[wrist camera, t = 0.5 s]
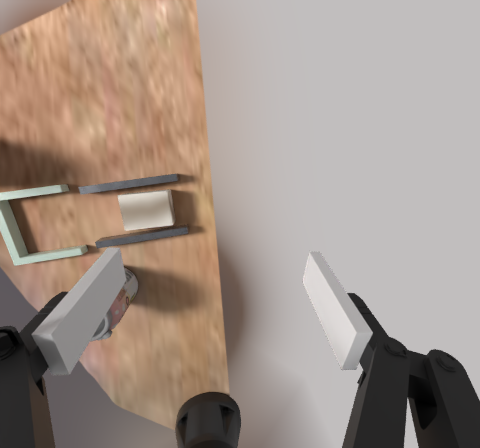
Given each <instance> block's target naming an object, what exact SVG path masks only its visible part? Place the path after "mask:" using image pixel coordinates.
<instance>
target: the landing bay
mask: <svg viewBox="0 0 480 448" xmlns="http://www.w3.org/2000/svg"><path fill="white" fill-rule="evenodd" d="M66 191H69V189H68V186H67V184H63V185H54V186H47V187H40V188H32V189H25V190H17V191H10V192H3V193H0V231H1V233H2V236H3V238H4V240H5V243H6V245H7V248H8V250H9V253H10V255H11V258H12V260H13V263H14V265H22V264H28V263H34V262H40V261H46V260H52V259H58V258H64V257H70V256H76V255H82V254H84V253H85V252H87V251H88V249H87V246H86V245H81V246H75V247H69V248H63V249H56V250H50V251H44V252H38V253H32V254H28V251H27V249H26V246H25V243H24V241H23V238H22V236H21V233H20V230H19V228H18V225H17V223H16V220H15V217H14V215H13V212H12V210H11V207H10V204H9V202H8V199H15V198H23V197H30V196H37V195H44V194H51V193H59V192H66Z"/></svg>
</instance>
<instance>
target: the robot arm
mask: <svg viewBox="0 0 480 448" xmlns="http://www.w3.org/2000/svg"><path fill="white" fill-rule="evenodd" d="M125 282H126V275H125V270H124V266H123V261H122V256H121V251H120V248H107V249H106V250H105V252H104V253H103V254H102V255H101V256H100V257H99V258H98V260H97V261H96V262H95V263H94V264H93V265H92V266H91V267H90V269H89V270H88V271H87V272H86V273H85V274H84V275H83V277H82V278H81V279H80V280H79V281H78V282H77V283H76V285H75V286H74V287H73V288H72V289H71V290H70V291H69V292H61V293H59V294H58V295H56V296H55V297H53V298H52V299H51V300H50V301H49V302H48V303H47V304H46V305H45V306H44V308H42V309H41V311H40V312H39V313H38V315H36V316H35V317H34V318H33V319H32V320H31V321H30V322H29V323H28V324H27V325H26V326H25V328H24V329H23V330H22V331H21V332H20V333H18V331H17V330H16V328H15V327H12V326H4V327H0V448H55V442H54V436H53V431H52V424H51V418H50V412H49V406H48V399H47V393H46V387H45V381H44V378H43V377H42V375H43V374H44V372H45V371H46V370H47V368H49V370H50V372H51V373H52V375H69V374H70V373H71V371H72V370H73V368H74V366H75V364H76V363H77V361H78V360H79V358H80V356H81V355H82V353H83V352H84V350H85V348H86V347H87V345H88V343H89V342H90V340H91V338H92V337H93V335H94V333H95V332H96V330H97V328H98V327H99V325H100V323H101V322H102V320H103V318H104V317H105V315H106V313H107V312H108V310H109V308H110V307H111V305H112V303H113V302H114V300H115V298H116V297H117V295H118V293H119V292H120V290H121V288H122V287H123V285H124V283H125ZM302 282H303V284H304V286H305V289H306V291H307V293H308V296H309V298H310V300H311V302H312V305H313V307H314V309H315V311H316V313H317V316H318V318H319V320H320V323H321V325H322V327H323V330H324V332H325V334H326V336H327V339H328V341H329V343H330V345H331V347H332V350H333V352H334V354H335V357H336V359H337V361H338V363H339V366H340V368H341V370H356V368H357V366H358V364H359V362H360V364H361V366H362V368H363V372H362V374H361V376H360V378H359V380H358V382H357V383H358V384H359V386H358V390H357V393H356V397H355V401H354V405H353V408H352V412H351V416H350V420H349V423H348V427H347V431H346V435H345V439H344V442H343V446H342V448H404V436H405V423H406V409H407V397H408V399H409V404H410V409H411V413H412V418H413V422H414V427H415V432H416V437H417V441H418V446H419V448H480V401H479V399H478V396H477V394H476V392H475V390H474V388H473V386H472V384H471V381H470V379H469V377H468V375H467V373H466V371H465V369H464V367H463V366H462V364H461V363H460V362H459V361H458V360H456V359H455V358H454V357H452V356H451V355H449V354H448V353H446V352H443V351H441V350H436V349H435V350H431V351H430V352H429V353H428V354H427V355H423V354H420V353H416V352H413V351H409V350H407V348H406V347H405V346H404V345H403V344H402V343H400V342H399V341H397V340H395V339H393V338H391V337H389V336H388V335H387V333H386V332H385V331H384V329H383V328H382V327H381V325H380V324H379V322H378V321H377V320H376V318H375V317H374V315H373V314H372V313H371V311H370V310H369V308H367V306H366V304H365V303H364V301H363V300H362V299H361V298H360V297H358V296H357V295H356V294H355V293H346V291H345V290H344V288H343V287H342V285H341V284H340V282H339V280H338V279H337V277H336V276H335V275H334V273H333V271H332V270H331V268H330V267H329V265H328V264H327V262H326V261H325V259H324V258H323V256H322V255H321V253H320V252H309V255H308V259H307V264H306V268H305V273H304V277H303V281H302ZM240 427H241V417H240V410H239V407H238V405H237V404H236V402H235V401H234V400H233V399H232V398H231V397H229V396H227V395H225V394H221V393H204V394H200V395H197V396H195V397H193V398H191V399H190V400H188V401H187V402H186V403H185V404H184V405H183V406H182V407H181V409H180V410H179V412H178V415H177V420H176V428H175V432H176V439H177V445H178V448H237V446H238V439H239V433H240Z"/></svg>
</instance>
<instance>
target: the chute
mask: <svg viewBox="0 0 480 448" xmlns="http://www.w3.org/2000/svg"><path fill="white" fill-rule="evenodd" d="M172 181H179V175H178V174H170V175H163V176H156V177H149V178H141V179H134V180H127V181H120V182H112V183H105V184H98V185H91V186H83V187H79V191H80V194H87V193H94V192H101V191H108V190H115V189H123V188H130V187H137V186H144V185H151V184H158V183H165V182H172ZM188 232H189V226H188V224H186V225H180V226H174V227H167V228H161V229H155V230H149V231H142V232H136V233H130V234H124V235H117V236H111V237H105V238H101V239H99V240H98V241H96V242H95V243H96V246H97V248H103V247H109V246H115V245H121V244H127V243H133V242H139V241H145V240H152V239H158V238H164V237H170V236H176V235H182V234H188Z"/></svg>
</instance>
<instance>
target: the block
mask: <svg viewBox="0 0 480 448" xmlns="http://www.w3.org/2000/svg"><path fill="white" fill-rule="evenodd" d="M118 200H119V205H120V210H121V214H122V219H123V224H124V228H125V231H126V230H135V229H144V228H153V227H162V226H171V225H173V224H174V223H175V221H176V219H175V212H174V206H173V200H172V193H171V189H168V190H158V191H147V192H137V193H127V194H122V195H118Z"/></svg>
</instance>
